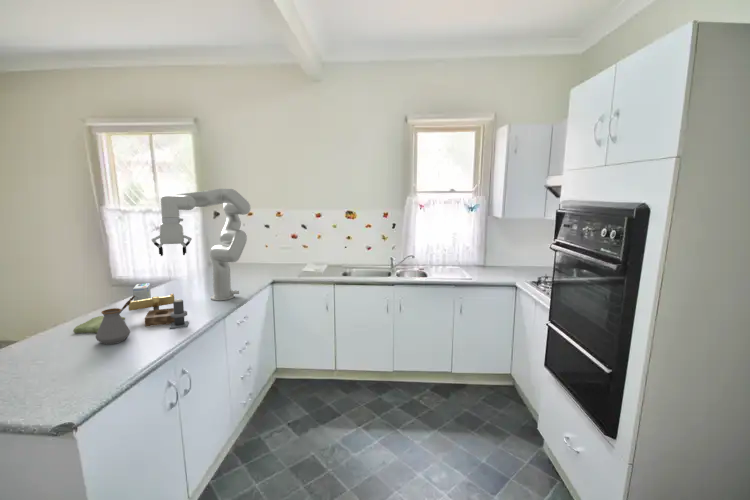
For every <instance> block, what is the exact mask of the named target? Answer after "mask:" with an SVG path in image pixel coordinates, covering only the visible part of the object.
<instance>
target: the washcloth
mask: <svg viewBox="0 0 750 500" xmlns="http://www.w3.org/2000/svg"><path fill="white" fill-rule="evenodd" d="M121 317H122V319H123V320H124V321H125V320H126V318H125V317H123V316H121ZM103 318H104V315H99V316H96V317H92V318H90V319H88V320H87V321H85V322H83V323H80V324H78V325H77V326H75V327H74V328H73V330H72V332H73V333H74V334H87V333H90V334H91V333H92V334H95V333H96V334H97V332H98V330H99V327H100V325H101V322H102V320H103Z"/></svg>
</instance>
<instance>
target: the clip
mask: <svg viewBox="0 0 750 500" xmlns="http://www.w3.org/2000/svg"><path fill="white" fill-rule="evenodd" d="M174 300H175V295H174V293H170V295H165V296H153V297H152V296H151V299H144V300H137V301H134V300H132V301H131V302H130V304H129V305H128V306H127V307H128V311H129V312H131V311H136V310H137V311H138V310H142V309H149V308H153V307H158V306H159V307H160V306H161V307H162V306H166V305H167V306H168V305H172V304H173V301H174Z"/></svg>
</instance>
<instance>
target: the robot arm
mask: <svg viewBox="0 0 750 500" xmlns="http://www.w3.org/2000/svg"><path fill="white" fill-rule="evenodd" d="M220 204H222V205H223V206H222V207H223V211H224V214H225V216H226V217H225V218H226V221H225V224H224V226H223V228H222V230H221V233H220V234H219V242H220V243H221V244H216V245H214V246H212V247H211V248H210V251H209V257H210V260H211V261H210V262H211V266H212V282H213V283H212V286H213V287H212V288H213V291H212V292H213V293H212V295H211V296H210V299H211V300H212V301H218V302H219V301H228V300H231V299H233V298H234V297H235V295H239V294H240V290H237V289H236V290H233V289H232V287H231V286H232V285H231V284H232V282H231V266H230V263H232V264H234V263H237V262H238V261H239V260H240V258H241V256H242V254H243V251H244V249H245V247H246V244H247V240H248V237H247V236H248V235H247V233H246V231H244V230H242V229H240V228H241V225H242V221H241V218H240V216H239V215H243V216H244V215H248V214H249V213H250V211H251V204H250V203H249V201H248V200H247V199H246V198H245V197H244V196H243V195H242V194H240V193H239V192H238V191H237V190H235V189H233V188H214V189H211V190H210V189H209V190H201V191H195V192H186V193H179V194H172V195H162V196H161V197H160V208H161V209H160V210H161V223H160V227H159V235H157V236H155V237H154V238H151V242H152V243H153V244H154V246H156V247H157V248H158V254H159V255H160V257H163V255H164V247H163V245H178V244H179V245H181V246H182V255H183V256H185V255H186V254H187V247H188V246H189V244H190V243H191V241H192V237H190V236H188V235H186V234H184V233H185V232H184V227H183V224H182V223H181V222H184V218H181V217H180V211H191V210H193V209H195V208H207V207H212V206H216V205H220ZM157 240H159V243H158V242H157ZM185 240H187V241H186V242H185Z"/></svg>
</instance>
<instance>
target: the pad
mask: <svg viewBox="0 0 750 500" xmlns="http://www.w3.org/2000/svg"><path fill="white" fill-rule="evenodd" d="M184 322H185V324H183V325H179V326H176V325H175V322H172V323H171V324H170V326H169V330H173V329H182V328H187V327H188V325H189V320H184Z"/></svg>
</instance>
